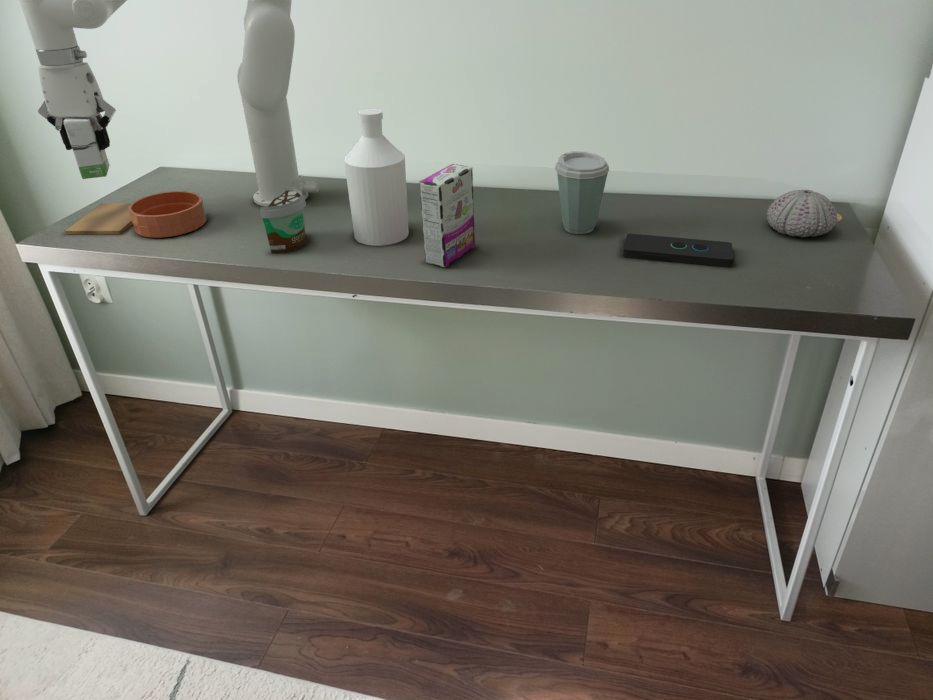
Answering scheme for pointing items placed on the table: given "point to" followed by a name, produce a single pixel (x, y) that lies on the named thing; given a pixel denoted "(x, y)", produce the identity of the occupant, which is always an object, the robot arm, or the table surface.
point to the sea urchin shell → (802, 214)
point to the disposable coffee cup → (581, 189)
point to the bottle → (376, 185)
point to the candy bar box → (447, 214)
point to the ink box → (86, 148)
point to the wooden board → (103, 220)
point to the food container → (285, 221)
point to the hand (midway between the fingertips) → (88, 147)
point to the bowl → (167, 214)
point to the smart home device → (678, 250)
